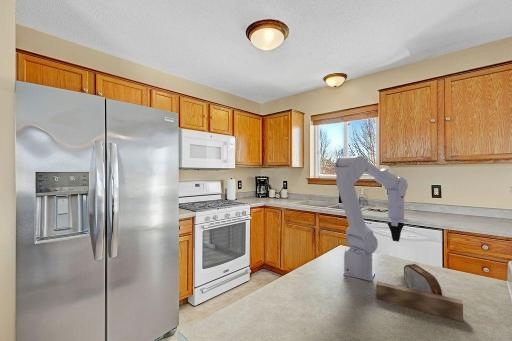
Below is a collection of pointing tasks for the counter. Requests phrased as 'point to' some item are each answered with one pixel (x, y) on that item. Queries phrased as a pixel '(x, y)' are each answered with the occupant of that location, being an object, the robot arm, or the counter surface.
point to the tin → (421, 279)
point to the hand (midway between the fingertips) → (395, 240)
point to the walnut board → (420, 300)
